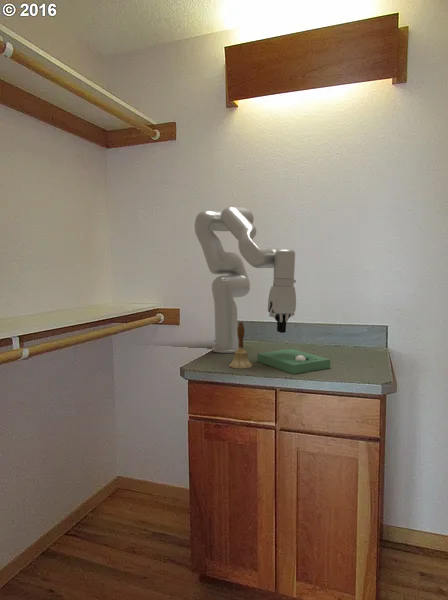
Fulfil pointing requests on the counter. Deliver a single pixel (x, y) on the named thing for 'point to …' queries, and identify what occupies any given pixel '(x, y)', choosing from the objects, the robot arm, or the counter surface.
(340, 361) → the counter surface
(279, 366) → the block
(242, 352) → the hand bell
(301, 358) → the ball
